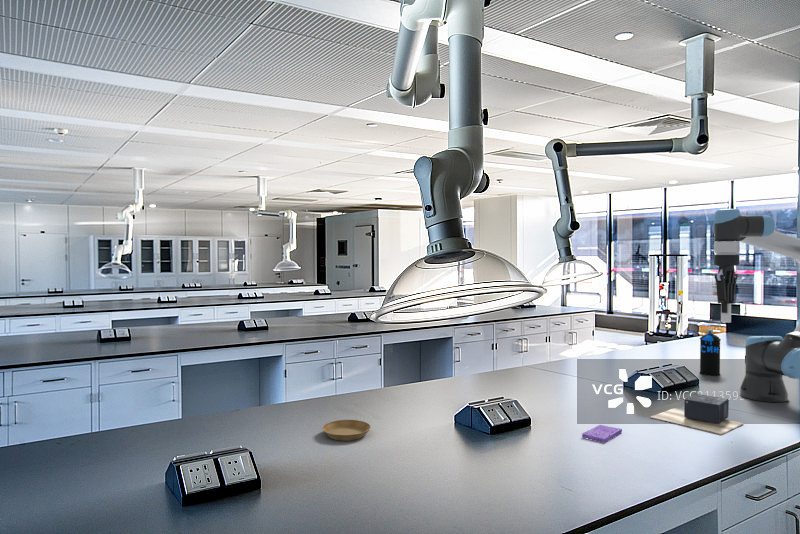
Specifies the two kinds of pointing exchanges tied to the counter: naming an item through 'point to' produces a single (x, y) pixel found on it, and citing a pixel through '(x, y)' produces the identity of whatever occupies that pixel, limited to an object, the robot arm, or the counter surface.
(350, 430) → the plant saucer
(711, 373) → the aerosol can
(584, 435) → the sponges
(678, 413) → the tan flat board
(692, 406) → the small box
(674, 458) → the counter surface
